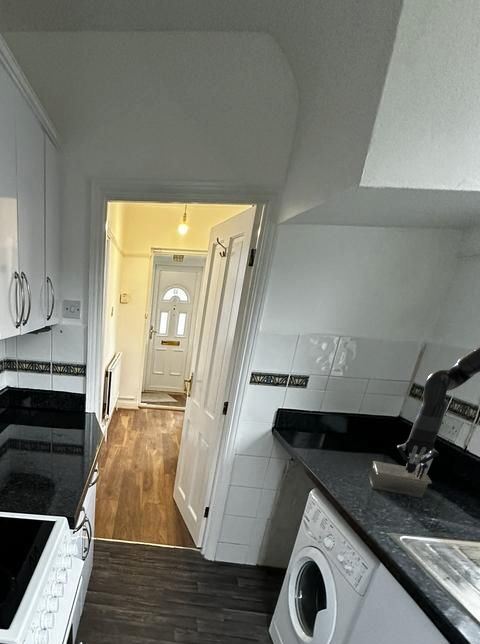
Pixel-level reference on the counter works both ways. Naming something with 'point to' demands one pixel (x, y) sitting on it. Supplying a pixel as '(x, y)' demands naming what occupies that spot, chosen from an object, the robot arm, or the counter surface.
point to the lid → (402, 472)
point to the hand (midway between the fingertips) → (409, 472)
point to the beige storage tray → (396, 484)
